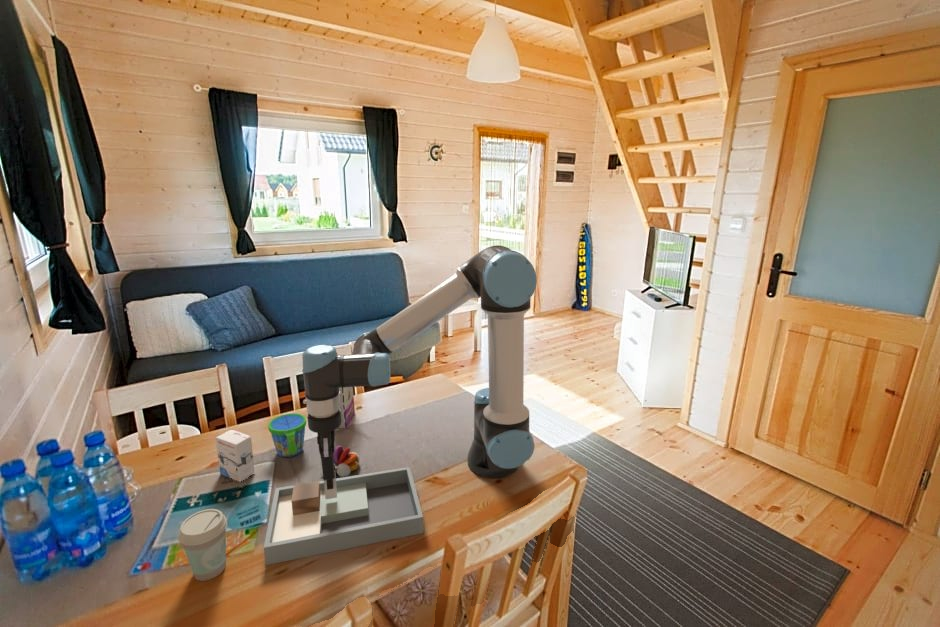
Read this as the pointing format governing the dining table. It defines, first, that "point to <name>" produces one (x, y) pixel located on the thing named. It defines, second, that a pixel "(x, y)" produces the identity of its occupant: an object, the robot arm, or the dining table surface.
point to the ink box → (235, 455)
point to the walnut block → (306, 498)
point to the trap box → (345, 516)
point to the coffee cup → (205, 543)
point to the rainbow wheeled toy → (345, 461)
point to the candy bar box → (346, 406)
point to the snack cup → (288, 434)
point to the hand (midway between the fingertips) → (331, 496)
